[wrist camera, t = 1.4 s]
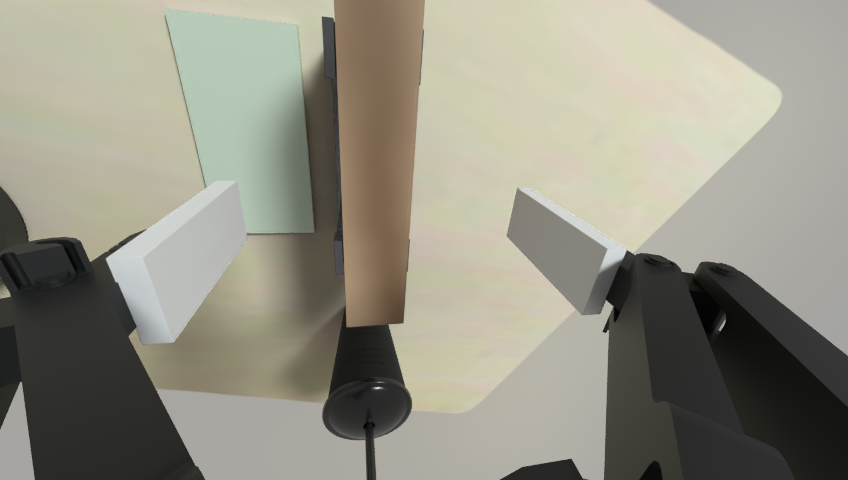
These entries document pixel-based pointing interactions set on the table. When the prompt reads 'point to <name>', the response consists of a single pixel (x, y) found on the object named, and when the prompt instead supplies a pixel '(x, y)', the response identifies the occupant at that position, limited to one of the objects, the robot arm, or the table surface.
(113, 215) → the table surface
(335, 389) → the drinking cup
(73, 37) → the table surface
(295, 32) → the mat
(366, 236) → the rail
